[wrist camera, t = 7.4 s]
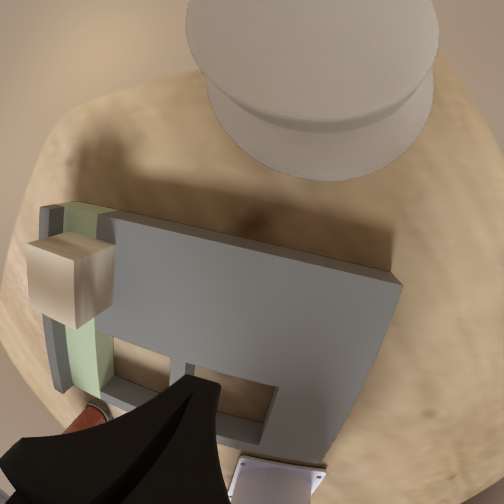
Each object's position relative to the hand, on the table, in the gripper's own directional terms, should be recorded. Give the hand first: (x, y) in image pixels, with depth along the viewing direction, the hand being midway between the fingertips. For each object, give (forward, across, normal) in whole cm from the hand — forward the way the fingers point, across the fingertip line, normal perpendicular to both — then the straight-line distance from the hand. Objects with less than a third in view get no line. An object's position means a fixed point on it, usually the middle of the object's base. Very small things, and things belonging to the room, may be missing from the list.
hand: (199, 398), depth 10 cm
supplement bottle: (+9, -2, -12) cm, 15 cm away
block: (+7, +10, -1) cm, 12 cm away
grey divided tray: (+9, +3, +3) cm, 10 cm away
